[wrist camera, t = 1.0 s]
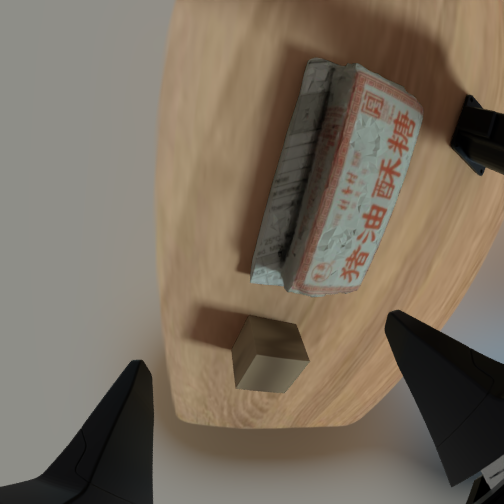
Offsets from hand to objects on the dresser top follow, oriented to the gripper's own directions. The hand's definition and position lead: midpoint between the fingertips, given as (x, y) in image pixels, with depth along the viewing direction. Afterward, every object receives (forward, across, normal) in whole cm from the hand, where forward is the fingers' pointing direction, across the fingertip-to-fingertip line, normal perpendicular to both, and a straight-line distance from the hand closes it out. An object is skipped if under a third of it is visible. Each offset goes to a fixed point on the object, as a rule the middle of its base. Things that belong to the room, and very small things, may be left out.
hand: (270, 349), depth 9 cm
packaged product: (+14, -8, -1) cm, 16 cm away
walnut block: (+13, -1, +13) cm, 19 cm away
